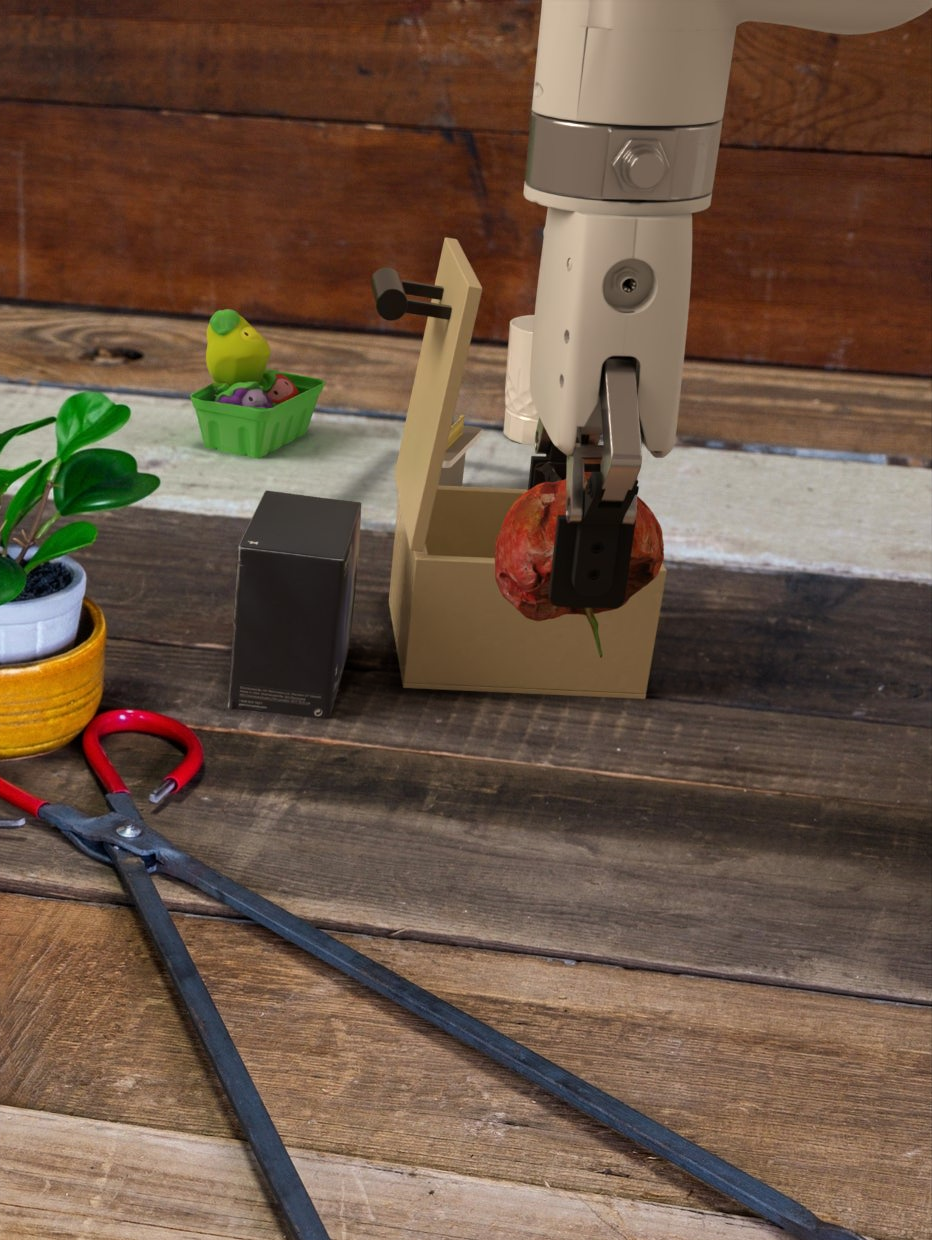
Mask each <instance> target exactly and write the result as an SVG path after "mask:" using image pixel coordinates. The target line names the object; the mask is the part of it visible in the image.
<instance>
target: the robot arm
mask: <svg viewBox="0 0 932 1240" xmlns="http://www.w3.org/2000/svg"><path fill="white" fill-rule="evenodd" d="M931 9H932V0H541V10H540V20H539V30H538V42H537V51H536V59H535V60H536V61H535V62H536V63H535V70H534V71H535V72H534V83H533V93H532V104H531V113H530V119H529V121H530V122H529V132H528V141H527V150H526V151H527V153H526V162H525V164H526V165H525V173H524V184H523V193H522V194H523V195H522V196H523V197H524V198H525V200H527V201H528V202H531V203H536V204H537V205H539V206H542V207H543V206H544V207H546V208H547V211H546V217H545V225H544V228H543V232H542V235H543V239H542V240H543V241H542V248H541V255H540V261H539V262H540V264H539V265H540V266H539V272H538V279H537V289H536V297H535V307H534V315H535V316H534V325H533V337H532V350H531V366H530V391H531V397H532V401H533V404H534V406H535V408H536V411H537V413H538V415H539V420H538V424H537V429H536V434H535V445H534V453H535V454H536V455H531V456H530V464H529V474H528V483H527V489H528V490H530V489H532V488H533V487H535V486H536V485H538V484H541V483H544V482H546V481H545V475H544V473H543V472H539V471H538V470H536V468H539V467H542V466H543V465H545V464H546V463H547V462H554V465H555V470H556V473H557V475H558V476H559V477H560V478H561V479H562V480H565V479H566V515H557V524H556V533H555V541H554V550H553V559H552V567H551V576H550V585H549V593H548V594H549V598H550V601H551V603H552V604H553V605H554V606H557V607H583V608H618V607H621V606H622V605H623V603H624V601H625V596H626V588H627V581H628V574H629V567H630V559H631V552H632V545H633V538H634V530H635V523H636V514H637V496H638V495H639V490H640V486H639V485H638V484H639V480H638V477H639V474H640V471H641V468H642V463H643V448H642V443H643V446H645V448H646V450H647V451H648V452H649V453H650V454H651V456H652V457H654V458H655V459H663V458H665V457H666V456H668V455H669V454H670V453H671V452H672V451H673V449H674V448H675V445H676V437H677V431H678V430H677V429H678V422H679V421H678V420H679V411H680V401H681V392H682V383H683V382H682V381H683V374H684V373H683V371H684V363H685V362H684V361H685V354H686V342H687V333H688V332H687V331H688V323H689V311H690V300H691V299H690V298H691V283H692V265H693V264H692V262H693V215H692V214H694V213H695V214H696V213H699V212H702V211H705V210H708V209H709V207H711V203H712V197H713V190H714V182H715V175H716V170H717V163H718V156H719V149H720V141H721V136H722V128H723V122H724V121H723V118H724V114H725V109H726V100H727V94H728V88H729V82H730V81H729V80H730V73H731V68H732V66H731V65H732V60H733V52H734V47H735V39H736V32H737V26H739V25H741V24H742V23H745V22H757V23H767V24H775V25H783V26H789V27H795V28H799V29H803V30H804V29H805V30H810V31H816V32H823V33H828V34H835V35H848V36H849V35H851V36H853V35H865V34H873V33H874V34H875V33H878V32H882V31H887V30H889V29H892V28H896V27H898V26H901V25H903V24H905V23H908V22H910V21H913V20H914V19H916V18H918V17H920V16H922V15H923V14H925V13H927V12H928V11H929V10H931ZM601 436H602V443H603V444H599V443H600V440H601ZM584 472H592V473H591V476H590V478H589V479H587V484H586V487H585V489H584Z"/></svg>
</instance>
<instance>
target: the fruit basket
mask: <svg viewBox="0 0 932 1240" xmlns="http://www.w3.org/2000/svg"><path fill="white" fill-rule="evenodd" d="M206 340H207V342H206V343H207V346H206V350H205V363H206V368H207V371H208V373H209V375H210V376H211V378H212V379H213V382H212V383H210V384H208V385H206V386H205V387H203V388H200V389H199V390H196V391H195V392H192V393H191V394H190V395H189V397H190V401H191V403H192V407H193V408H194V410H195V413H196V417H197V418H196V419H197V421H198V422H197V423H198V425H199V426H198V427H199V430H200V434H201V438H202V441H203V445H204V448H205V449H209V450H217V451H220V452H224V453H229V454H232V455H233V454H234V455H238V456H246V457H249V458H253V459H261V458H263V457H265V456H267V455H268V454H269V453H272V452H274V451H276V450H278V449H280V448H281V447H282V446H283V445H284V446H285V445H287V444H289V443H291V442H294V441H295V439H297V438H300V437H302V436H304V435H307V432H308V429H309V426H310V423H311V420H312V417H313V415H314V411H315V408H316V405H317V403H318V399H319V396H320V395H322V392H323V389H324V387H325V384H326V382H325V380H323V379H321V378H318V377H311V376H307V375H301V374H297V373H290V372H286V371H285V372H284V371H279V370H277V369H269V368H267V365H268V362H269V360H270V357H271V355H272V351H271V347H270V345H269V342H268V341H267V340H266V338H265V337H264V336H263V335H262V334H261V333H260V332H259V331H258V330H257V329H255V327H254V326H252V325H251V324H250V323H249V322H248V321H247V320H246V319H245V318H244V317H243V316H241V315H240V314H239V312H237V311H236V310H233V309H231V308H229V309H228V308H227V309H226V308H225V309H223V310H222V309H219V310H217V311H215V312H214V313H213V315H212V316H211V317H210V319H209V324H208V325H207V327H206Z"/></svg>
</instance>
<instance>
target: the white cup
mask: <svg viewBox="0 0 932 1240" xmlns="http://www.w3.org/2000/svg"><path fill="white" fill-rule="evenodd" d="M534 316H535V314H528V315H521V316H517V317H513V318H512V319H511V320H510V321H509V329H508V341H507V342H508V344H507V357H506V367H505V369H506V370H505V385H504V404H505V407H504V421H503V422H504V423H503V435H504V436H505V437H506V438H507V439H509V440H511V441H513V442H515V443H518V444H521V445H533V446H535V434H536V429H537V424H538V420H539V415H538V413H537V411H536V408H535V406H534V404H533V401H532V397H531V391H530V366H531V350H532V337H533V325H534Z"/></svg>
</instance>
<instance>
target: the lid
mask: <svg viewBox="0 0 932 1240" xmlns="http://www.w3.org/2000/svg"><path fill="white" fill-rule="evenodd" d="M370 289H371V292H372V297H373V300H374V304H375V309H376V312H377V314H378V316H380V318H382V319H383V320H385V321H388V322H394V321H398V320H400V319H402V318H403V316H405V314H408V315H409V314H410V315H417V316H422V317H427V318H426V319H427V320H426V323H425V327H424V328H425V329H424V333H423V338H422V343H421V347H420V353H419V357H418V362H417V366H416V371H415V376H414V380H413V385H412V390H411V394H410V400H409V404H408V409H407V413H406V418H405V423H404V426H403V427H404V428H403V432H402V435H401V436H402V437H401V442H400V446H399V450H398V456H397V460H396V465H395V470H394V474H393V475H394V481H395V485H396V490H397V494H398V495H399V500H400V505H401V510H402V514H403V519H404V524H405V529H406V533H407V538H408V543H409V548H410V550H412V551H419V552H423V550H424V545H425V541H426V536H427V532H428V528H429V523H430V519H431V514H432V510H433V506H434V501H435V497H436V492H437V488H438V483H439V479H440V475H441V470H442V466H443V461H444V457H445V452H446V448H447V444H448V439H449V435H450V430H451V426H452V425H453V421H454V416H455V412H456V408H457V403H458V398H459V395H460V391H461V390H460V389H461V385H462V382H463V377H464V373H465V368H466V363H467V359H468V355H469V350H470V345H471V341H472V336H473V332H474V328H475V323H476V319H477V314H478V311H479V310H478V309H479V306H480V301H481V297H482V292H483V287H482V285H481V283H480V281H479V279H478V277H477V275H476V273H475V271H474V268H473V267H472V265H471V263H470V262H469V260H468V258H467V256H466V254H465V252H464V249H463V247H462V246H461V244H460V242H459V240H458V239H456V238H452V237H444V240H443V244H442V248H441V254H440V258H439V263H438V268H437V273H436V277H435V281H434V284H430V283H424V282H418V281H413V280H408V279H407V280H406V279H401V276H400V274H399V272H398V271H397V270H395V268H393V267H387V266H386V267H380V268H379V269H377V270H376V271H375V272H374V273H373V274H372V276H371V278H370ZM407 296H413V297H420V298H425V299H426V298H427V299H431V301H426V300H419V299H414V298H408V297H407Z"/></svg>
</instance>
